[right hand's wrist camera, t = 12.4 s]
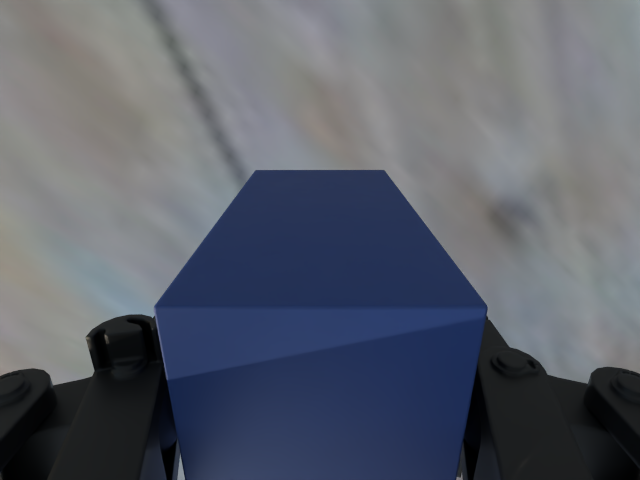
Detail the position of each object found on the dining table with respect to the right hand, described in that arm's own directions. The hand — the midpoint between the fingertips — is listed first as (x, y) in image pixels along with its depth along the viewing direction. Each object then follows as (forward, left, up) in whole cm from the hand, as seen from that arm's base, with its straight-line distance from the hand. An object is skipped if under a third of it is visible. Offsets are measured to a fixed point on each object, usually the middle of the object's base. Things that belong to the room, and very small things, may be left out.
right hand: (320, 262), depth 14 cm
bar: (+9, +7, -1) cm, 12 cm away
